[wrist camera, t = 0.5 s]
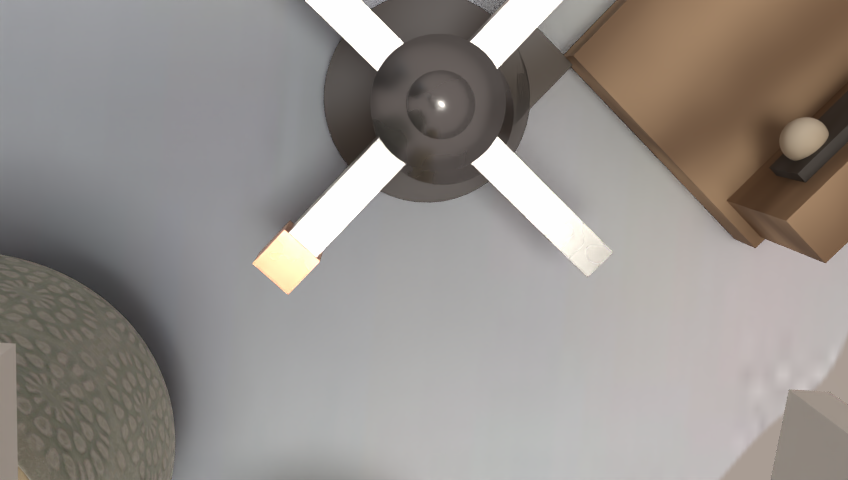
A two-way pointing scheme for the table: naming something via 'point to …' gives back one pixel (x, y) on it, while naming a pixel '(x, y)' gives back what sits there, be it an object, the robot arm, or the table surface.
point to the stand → (672, 102)
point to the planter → (81, 382)
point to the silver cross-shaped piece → (432, 133)
